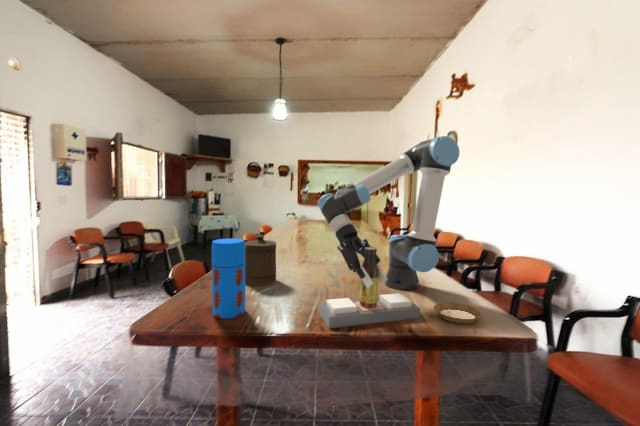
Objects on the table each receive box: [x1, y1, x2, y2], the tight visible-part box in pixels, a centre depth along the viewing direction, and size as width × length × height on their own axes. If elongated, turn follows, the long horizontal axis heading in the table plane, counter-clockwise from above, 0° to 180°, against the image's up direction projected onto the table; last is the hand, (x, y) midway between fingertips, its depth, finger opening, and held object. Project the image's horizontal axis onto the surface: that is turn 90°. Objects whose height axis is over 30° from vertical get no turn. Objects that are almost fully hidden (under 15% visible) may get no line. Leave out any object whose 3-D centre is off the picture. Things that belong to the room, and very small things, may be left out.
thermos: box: [211, 237, 246, 320], centre depth 105 cm, size 11×11×25 cm
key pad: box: [318, 297, 421, 329], centre depth 104 cm, size 32×12×4 cm, turn 105°
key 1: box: [325, 297, 357, 315], centre depth 101 cm, size 8×8×2 cm
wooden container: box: [245, 233, 277, 287], centre depth 141 cm, size 15×15×22 cm
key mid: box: [354, 301, 385, 312], centre depth 104 cm, size 8×8×2 cm
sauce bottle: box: [358, 246, 380, 307], centre depth 103 cm, size 7×6×20 cm
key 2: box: [379, 293, 413, 309], centre depth 107 cm, size 8×8×2 cm
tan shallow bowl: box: [433, 302, 482, 324], centre depth 104 cm, size 15×15×3 cm
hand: (377, 283), depth 101 cm, fingers open, 6 cm apart
